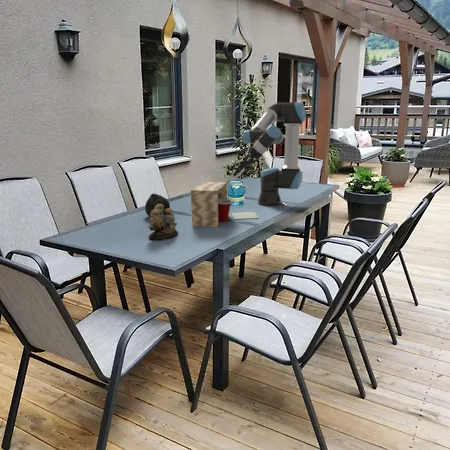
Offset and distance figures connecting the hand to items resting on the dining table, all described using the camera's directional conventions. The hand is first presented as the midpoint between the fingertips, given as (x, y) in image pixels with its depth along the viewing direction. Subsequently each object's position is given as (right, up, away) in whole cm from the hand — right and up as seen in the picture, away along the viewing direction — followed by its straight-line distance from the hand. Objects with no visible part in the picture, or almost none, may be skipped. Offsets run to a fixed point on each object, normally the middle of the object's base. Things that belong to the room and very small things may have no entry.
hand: (233, 177), depth 252 cm
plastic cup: (-6, -25, +3) cm, 25 cm away
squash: (-45, -22, +16) cm, 52 cm away
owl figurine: (-36, -33, -24) cm, 55 cm away
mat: (+7, -21, +12) cm, 26 cm away
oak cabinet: (-13, -24, +5) cm, 28 cm away
